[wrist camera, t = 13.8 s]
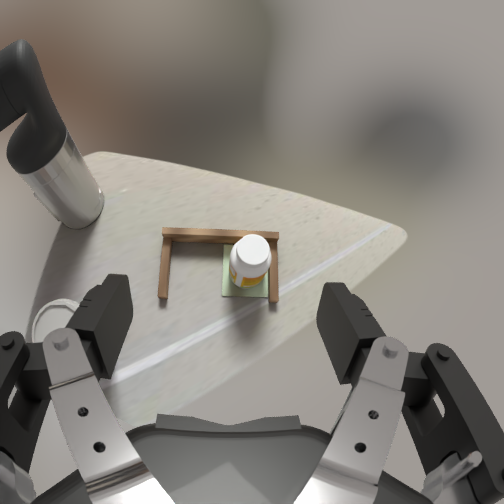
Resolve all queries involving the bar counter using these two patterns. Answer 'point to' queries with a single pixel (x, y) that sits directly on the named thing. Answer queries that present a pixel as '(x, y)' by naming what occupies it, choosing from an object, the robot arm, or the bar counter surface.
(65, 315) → the disposable coffee cup
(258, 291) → the bay
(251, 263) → the supplement bottle
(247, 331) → the bar counter surface
